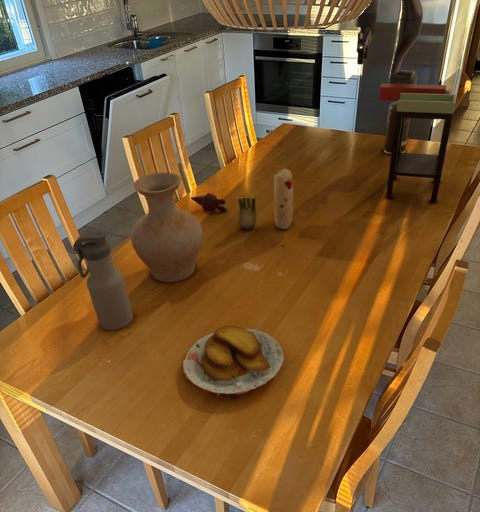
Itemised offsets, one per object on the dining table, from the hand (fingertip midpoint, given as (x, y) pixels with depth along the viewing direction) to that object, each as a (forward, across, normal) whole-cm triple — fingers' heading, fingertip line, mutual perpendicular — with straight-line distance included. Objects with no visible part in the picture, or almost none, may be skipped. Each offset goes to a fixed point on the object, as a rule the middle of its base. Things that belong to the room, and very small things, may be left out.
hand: (362, 61), depth 187 cm
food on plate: (+42, -123, +9) cm, 130 cm away
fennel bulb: (+42, -56, +28) cm, 76 cm away
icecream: (+42, -46, +47) cm, 78 cm away
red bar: (+10, -9, -20) cm, 24 cm away
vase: (+42, -87, +43) cm, 106 cm away
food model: (+42, -51, +16) cm, 68 cm away
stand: (+42, -14, -25) cm, 51 cm away
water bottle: (+42, -115, +48) cm, 132 cm away
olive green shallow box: (+10, -19, -25) cm, 33 cm away
